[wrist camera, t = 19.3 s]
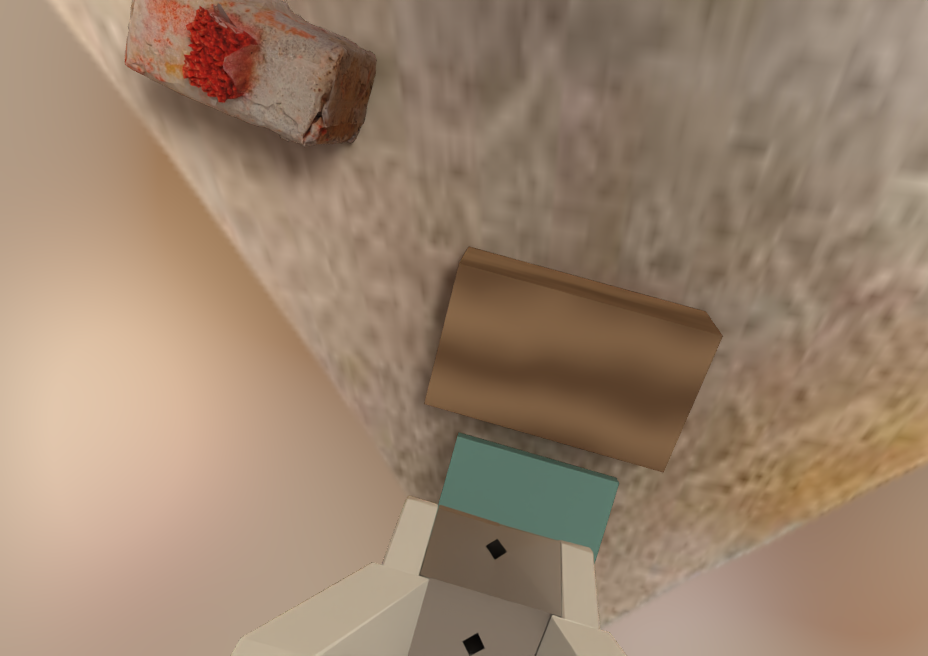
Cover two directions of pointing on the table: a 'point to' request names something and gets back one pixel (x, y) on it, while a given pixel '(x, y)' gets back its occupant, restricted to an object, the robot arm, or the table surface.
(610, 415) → the brown wooden block
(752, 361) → the table surface
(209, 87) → the grey paint-stained brick
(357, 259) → the table surface
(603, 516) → the teal rectangular block
